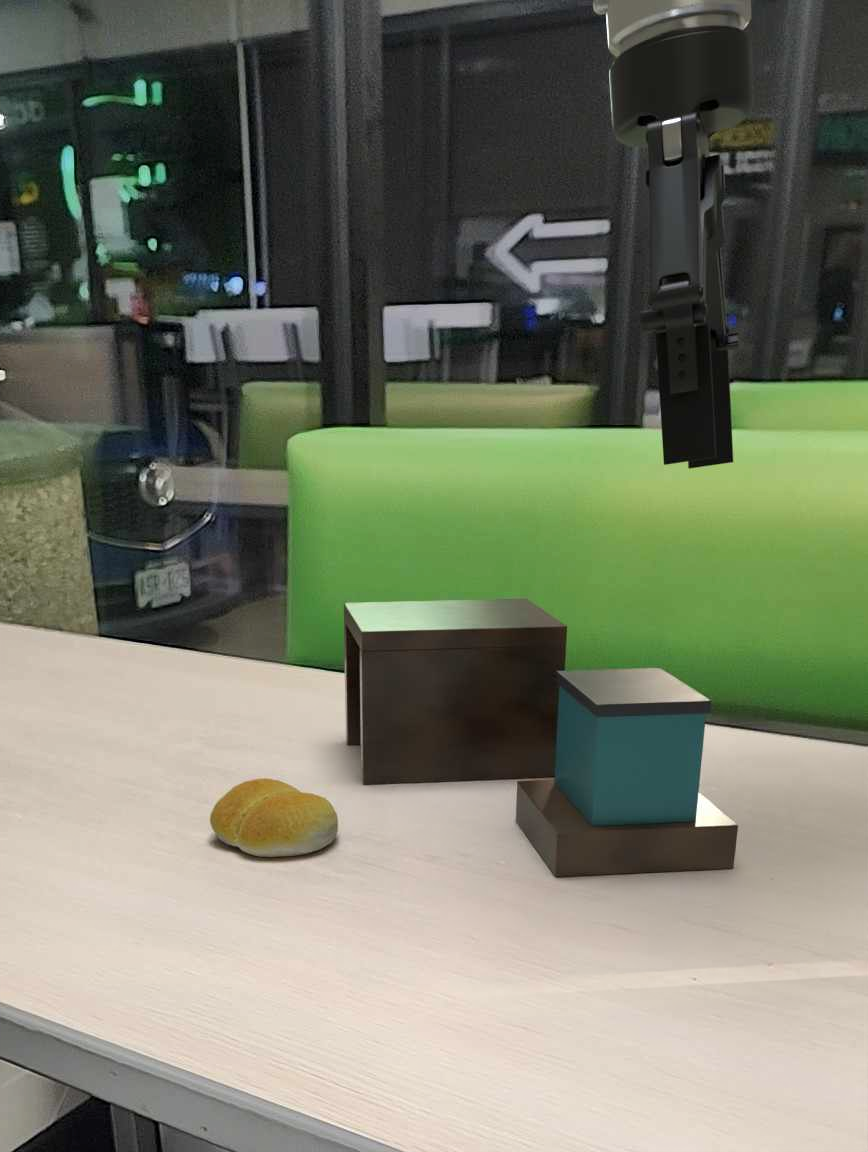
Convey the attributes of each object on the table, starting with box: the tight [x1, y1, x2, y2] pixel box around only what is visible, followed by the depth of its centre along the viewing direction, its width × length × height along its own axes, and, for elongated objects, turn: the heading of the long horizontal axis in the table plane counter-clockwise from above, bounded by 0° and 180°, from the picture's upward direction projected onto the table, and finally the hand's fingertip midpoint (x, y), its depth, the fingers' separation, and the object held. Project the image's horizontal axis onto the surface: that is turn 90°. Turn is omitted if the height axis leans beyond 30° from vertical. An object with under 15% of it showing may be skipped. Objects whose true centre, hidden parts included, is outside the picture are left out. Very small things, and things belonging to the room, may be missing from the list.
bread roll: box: [209, 778, 339, 858], centre depth 92 cm, size 8×9×4 cm
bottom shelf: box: [515, 779, 739, 878], centre depth 91 cm, size 12×12×3 cm
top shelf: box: [343, 598, 568, 785], centre depth 110 cm, size 16×14×12 cm
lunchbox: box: [554, 667, 713, 826], centre depth 89 cm, size 7×10×8 cm
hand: (701, 464), depth 77 cm, fingers open, 13 cm apart
